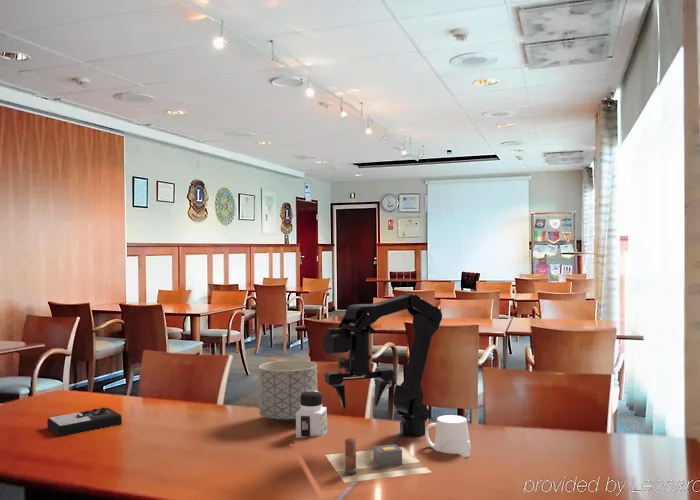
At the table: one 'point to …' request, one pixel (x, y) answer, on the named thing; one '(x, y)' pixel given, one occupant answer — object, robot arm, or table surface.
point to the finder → (387, 455)
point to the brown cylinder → (350, 456)
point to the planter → (284, 388)
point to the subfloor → (376, 466)
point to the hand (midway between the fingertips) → (359, 407)
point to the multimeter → (83, 421)
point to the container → (311, 415)
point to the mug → (450, 435)
